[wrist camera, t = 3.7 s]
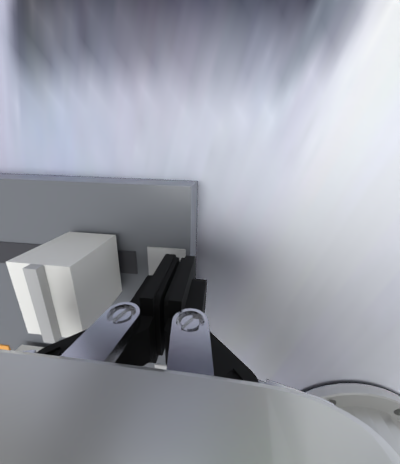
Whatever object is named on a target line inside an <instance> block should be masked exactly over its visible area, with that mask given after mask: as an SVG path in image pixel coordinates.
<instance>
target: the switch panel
mask: <svg viewBox="0 0 400 464" xmlns="http://www.w3.org/2000/svg"><path fill="white" fill-rule="evenodd" d="M197 190H198V181H182V180H156V179H131V178H106V177H81V176H55V175H30V174H5V173H0V349H3V350H13V351H15V350H16V349H18V348H19V347H20V346H21V345H30V346H38V347H46V346H48V345H51V344H53V343H45V342H44V341H43V338H42V335H40V334H31V333H28V331H27V328H26V325H25V322H24V319H23V315H22V312H21V309H20V306H19V303H18V299H17V296H16V293H15V290H14V287H13V284H12V280H11V277H10V274H9V271H8V268H7V265H6V261H8V260H10V259H12V258H14V257H17V256H19V255H21V254H23V253H25V252H27V251H29V250H31V249H34V248H36V247H38V246H40V245H42V244H44V243H46V242H48V241H51V240H53V239H55V238H57V237H59V236H61V235H63V234H65V233H68V232H81V233H96V234H111V235H116V242H117V251H118V259H119V268H120V277H121V286H122V292H121V293H120V294H119V296H118V297H117V298H116V300H115V301H114V302H113V304H112V305H111V306H113V305H115V304H118V303H121V302H130V301H131V300H132V298H133V297H134V295H135V294H136V292H137V291H138V289H139V288H140V286H141V284H142V283H143V281H144V280H145V278H146V277H147V276H148V275H153V274H154V272H155V271H156V269H157V267H158V266H159V264H160V262H161V261H162V259H163V257H164V256H165V254H175V255H176V257H179V260H181V258H185V256H186V255H188V256H196V233H197ZM195 276H196V267H195ZM111 306H110V307H111ZM110 307H109V308H110ZM62 339H65V337H61V338H60V339H59V340H58V341H60V340H62ZM144 367H150V368H158V369H165V370H167V365H166V361H165V350H164V353H163V355H162V356H161V355H159V356H158V359H157V362H156V363H147V364H146V365H144Z"/></svg>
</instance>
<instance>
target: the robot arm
mask: <svg viewBox="0 0 400 464" xmlns="http://www.w3.org/2000/svg"><path fill="white" fill-rule="evenodd" d="M195 267H196V256H188V255H186V256H185V258H181V260H179V257H176V255H175V254H165V256H164V257H163V259H162V261H161V262H160V264H159V266H158V267H157V269H156V271H155V272H154V274H153V275H148V276H147V277H146V278H145V280H144V281H143V283H142V284H141V286H140V288H139V289H138V291H137V292H136V294H135V295H134V297H133V298H132V300H131V301H130V302H121V303H118V304H115V305H113V306H111V307H110V308H108V309H107V310H106V311H105V312H104V313H103V314H102V315H101V316H100V317H99V318H98V319H97V320H96V321H95V322H94V323H93V324H92V325H91V326H90V327H89V328H88V329H86V330H84V331H81V332H79V333H77V334H74V335H72V336H70V337H67V338H65V339H62V340H60V341H58V342H55V343H53V344H51V345H48V346H46V347H44V348H42V349H41V350H39V351H38V352H36V350H26V351H13V350H3V349H0V464H400V396H399V395H397V394H395V393H393V392H391V391H388V390H386V389H383V388H380V387H376V386H372V385H367V384H358V383H338V384H330V385H325V386H321V387H317V388H314V389H311V390H309V391H306V392H303V391H300V390H297V389H294V388H291V387H288V386H285V385H283V384H280V383H277V382H274V381H271V380H268V379H267V380H266V382H264V381H261V380H258V379H257V377H256V376H255V375H254V373H253V372H252V371H251V370H250V369H249V368H248V367H247V366H246V365H245V364H244V363H243V362H242V361H240V360H239V359H238V358H237V357H236V356H235V355H234V354H233V353H232V352H231V351H230V350H229V349H228V348H227V347H226V346H225V345H224V344H223V343H221V342H220V341H219V340H218V339H217V338H216V337H215V336H214V335H213V334H212V333H211V332H210V331H209V322H208V318H207V316H206V315H205V313H204V312H205V303H206V288H207V280H200V279H195ZM164 350H165V361H166V365H167V370H165V369H158V368H150V367H144V365H146V364H147V363H156V362H157V359H158V356H159V355H161V356H162V355H163V353H164Z"/></svg>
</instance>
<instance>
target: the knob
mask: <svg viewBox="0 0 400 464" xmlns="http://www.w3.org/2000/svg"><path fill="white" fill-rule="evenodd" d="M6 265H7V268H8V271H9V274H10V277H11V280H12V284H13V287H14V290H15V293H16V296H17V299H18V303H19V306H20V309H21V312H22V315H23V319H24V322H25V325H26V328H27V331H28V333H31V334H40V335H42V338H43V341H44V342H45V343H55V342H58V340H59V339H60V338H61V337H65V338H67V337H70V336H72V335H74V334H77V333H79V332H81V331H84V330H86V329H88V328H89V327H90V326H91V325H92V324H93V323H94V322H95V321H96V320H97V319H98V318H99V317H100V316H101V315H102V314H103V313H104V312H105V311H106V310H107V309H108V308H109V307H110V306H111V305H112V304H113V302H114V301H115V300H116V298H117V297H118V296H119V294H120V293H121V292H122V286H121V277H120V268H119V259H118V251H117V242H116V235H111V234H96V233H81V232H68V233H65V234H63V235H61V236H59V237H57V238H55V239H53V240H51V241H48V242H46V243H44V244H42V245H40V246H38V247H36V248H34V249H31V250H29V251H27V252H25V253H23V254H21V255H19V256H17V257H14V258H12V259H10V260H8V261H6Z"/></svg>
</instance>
